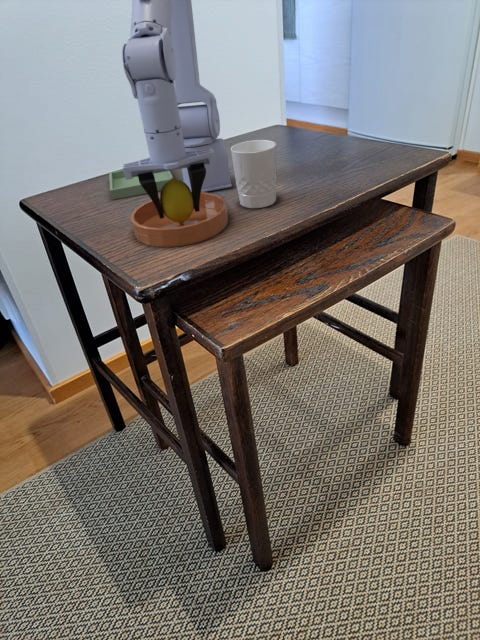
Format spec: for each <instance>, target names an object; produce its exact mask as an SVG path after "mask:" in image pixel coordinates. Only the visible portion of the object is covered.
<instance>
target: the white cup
mask: <svg viewBox="0 0 480 640" xmlns="http://www.w3.org/2000/svg"><path fill="white" fill-rule="evenodd" d="M230 154H231V161H232V166H233V167H232V168H233V174H234V178H235V185H236V190H237V193H238V198H239V204H240V206H242V207H243V208H246V209H261V208H266V207H269V206H271V205H273V204H275V203H276V201H277V176H278V175H277V173H278V171H277V143H276V142H275V141H273V140H268V139H254V140H247V141H243V142H242V141H241V142H238V143H236V144H233V145H232V146H231V147H230Z"/></svg>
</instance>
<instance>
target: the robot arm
mask: <svg viewBox="0 0 480 640" xmlns="http://www.w3.org/2000/svg"><path fill="white" fill-rule="evenodd" d="M131 3H132V4H131V19H130V35H129V38H128V40H127V41H126V43H123V45H122V48H121V57H122V66H123V71H124V74H125V76H126V79H127V81H128V83H129V86H130V88H131V93H132V96H133V99H136V100H137V104H138V110H139V113H140V118H141V123H142V127H143V132H144V137H145V141H146V145H147V151H148V155H149V157H147V158H144V159H140V160H137V161H133V162H128V163H123V164H122V170H124V174H125V178H126V180H128V179H132V178H133V177H138V178H139V182H140V184H141V186H142V187H143V189H144V190H145V191H146V192H147V193H146V194H147V195H148V197H149V198H150V200H152V201H153V203H154V205H155V207H156V209H157V211H158V213H159V216H160V219H162V218H164V214H163V210H162V207H161V204H160V200H159V197H160V195H159V191H157V186H156V181H155V178H154V173H160V172H165V171H170V172H171V171H176V170H181V173H182V174H181V175H182V181H183V182H184V183H186V184H187V185H188V187H189V188H190V190H191V192H192V195H193V199H194V209H195V211H196V212H198V211H200V209H199V203H200V194H201V192H206V193H209V192H212V191H218V190H223V189H229V188H232V187H233V185H232V182H231V181H232V180H231V174H230V165H229V157H228V156H229V155H228V151H227V146H226V143H225V140H224V138H221V137H220V138H218V137H219V135H220V133H221V122H220V113H219V109H218V105H217V104H218V103H217V98H216V96H215V95H214V93H212V92H211V91H210V90H208V89H207V88H205V87H204V86H202V84H201V82H200V81H201V80H200V72H199V71H200V70H199V62H198V53H197V43H196V35H195V34H196V33H195V23H194V13H193V4H192V0H132V2H131ZM195 103H202V104H195ZM203 103H204V104H203ZM185 104H194V105H185ZM180 105H181V106H180ZM182 105H184V106H182Z"/></svg>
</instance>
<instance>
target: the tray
mask: <svg viewBox="0 0 480 640" xmlns="http://www.w3.org/2000/svg"><path fill="white" fill-rule="evenodd" d="M108 177H109V178H108V179H109V192H110V196H111V200H119V199H122V198H123V199H124V198H129V197H135V196H140V195H146V194H147V192H146V191H145V190H144V189H143V187H142V186H141V184H140V182H139V178H138V177H133V178H132V179H128V180H126V178H125V174H124V170H123V169H121V170H116V171H110V172H109V173H108ZM154 178H155V181H156V186H157V191H158V192H161V189H162V187H163V186H164V184H165V183H166V182H168V181H170V179H171V178H174V177H173V174H172V172H171V171H165V172H160V173H154Z"/></svg>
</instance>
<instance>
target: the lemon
mask: <svg viewBox="0 0 480 640" xmlns="http://www.w3.org/2000/svg"><path fill="white" fill-rule="evenodd" d="M183 181H184V180H181V179H177V178H176V177H173V178H171V179H170V181H168V182H166V183H165V184H164V186H163V187H162V189H161V191H160V193H159V194H160V195H159V197H160V202H161V207H162V210H163V212H164V214H165V215H166V217H167V218H169V219H170V220H172V221H174V222H178V223H179V224H183V223H184V221H185V220H187V219H188V218H189V217H190V216H191V214H192V213H193V209H194V199H193V195H192V192H191V190H190V188H189V187H188V185H187V184H186V183H184V182H183Z"/></svg>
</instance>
